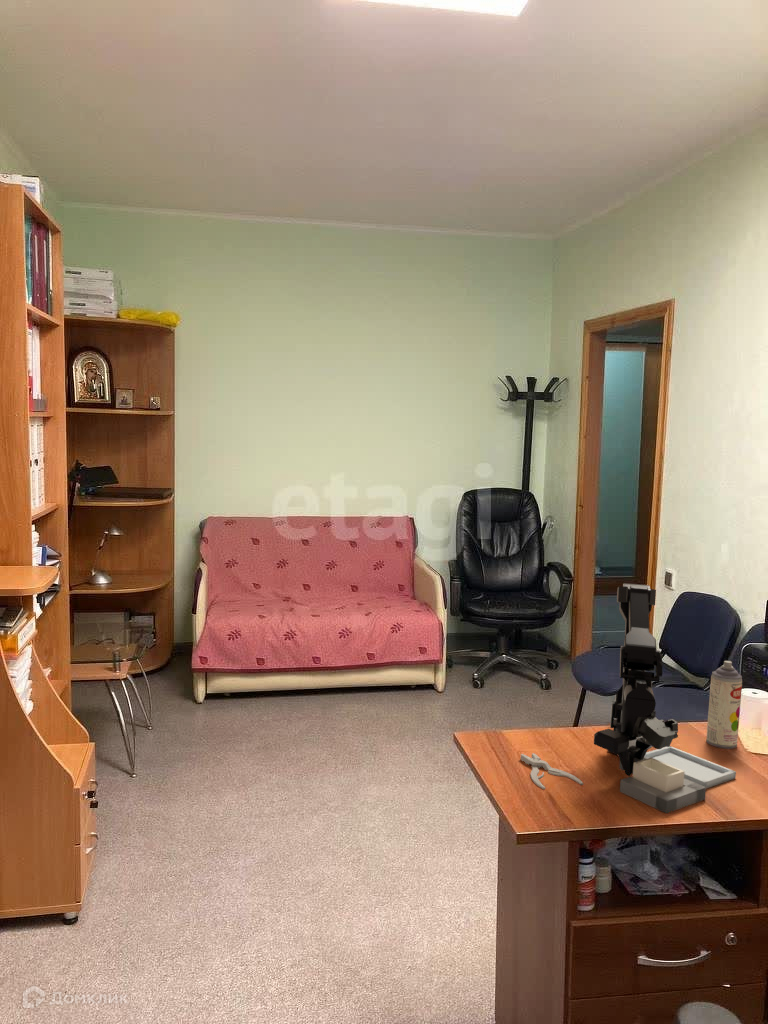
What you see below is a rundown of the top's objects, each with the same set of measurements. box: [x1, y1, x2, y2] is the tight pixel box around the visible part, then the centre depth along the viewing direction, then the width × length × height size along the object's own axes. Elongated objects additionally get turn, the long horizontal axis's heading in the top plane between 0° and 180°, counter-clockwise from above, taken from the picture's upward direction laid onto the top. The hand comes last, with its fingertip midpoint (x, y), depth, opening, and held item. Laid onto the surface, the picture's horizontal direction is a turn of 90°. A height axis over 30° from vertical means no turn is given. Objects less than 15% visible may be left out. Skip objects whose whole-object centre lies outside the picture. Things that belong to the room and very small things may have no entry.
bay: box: [619, 776, 707, 814], centre depth 162 cm, size 11×12×2 cm
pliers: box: [520, 752, 584, 790], centre depth 171 cm, size 10×2×15 cm
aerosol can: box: [705, 660, 743, 750], centre depth 192 cm, size 7×7×20 cm
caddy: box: [618, 757, 685, 793], centre depth 165 cm, size 13×6×6 cm, turn 35°
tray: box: [643, 745, 737, 790], centre depth 176 cm, size 17×11×2 cm
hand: (631, 774), depth 168 cm, fingers closed on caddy
